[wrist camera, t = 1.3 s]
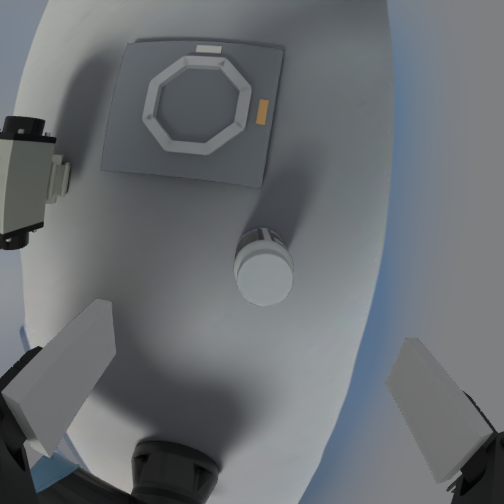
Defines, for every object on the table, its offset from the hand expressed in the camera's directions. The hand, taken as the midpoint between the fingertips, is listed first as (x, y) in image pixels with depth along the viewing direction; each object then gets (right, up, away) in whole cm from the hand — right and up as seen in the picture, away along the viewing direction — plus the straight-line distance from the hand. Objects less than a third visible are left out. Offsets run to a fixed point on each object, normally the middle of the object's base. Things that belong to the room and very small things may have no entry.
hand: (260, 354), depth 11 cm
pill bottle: (0, +4, +17) cm, 17 cm away
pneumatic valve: (-22, +13, +15) cm, 30 cm away
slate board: (-6, +18, +13) cm, 23 cm away
